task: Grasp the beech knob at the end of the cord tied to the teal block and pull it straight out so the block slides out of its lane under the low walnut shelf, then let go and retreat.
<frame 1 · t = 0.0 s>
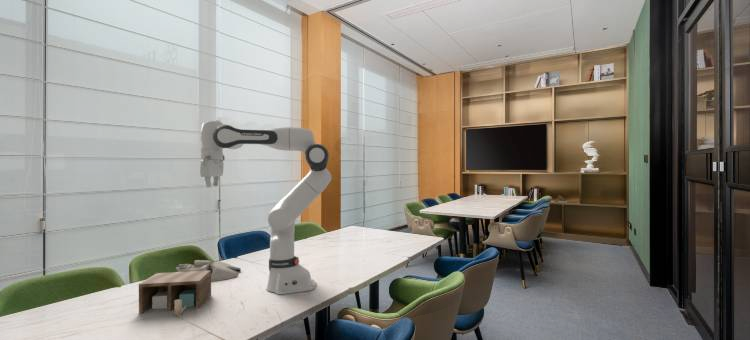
hand: (212, 186, 151), 48 cm above the table, fingers open, 8 cm apart
tethered block: (189, 303, 137), on the table
walnut shelf: (177, 303, 137), on the table
mask: (209, 277, 173), on the table
plain block: (163, 305, 136), resting in walnut shelf
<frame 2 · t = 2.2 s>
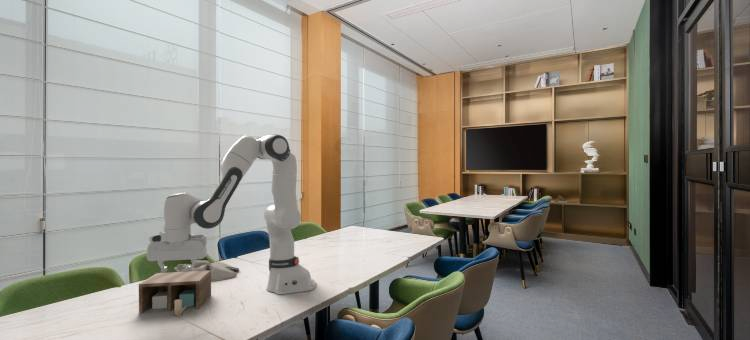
hand: (177, 271, 127), 17 cm above the table, fingers open, 8 cm apart
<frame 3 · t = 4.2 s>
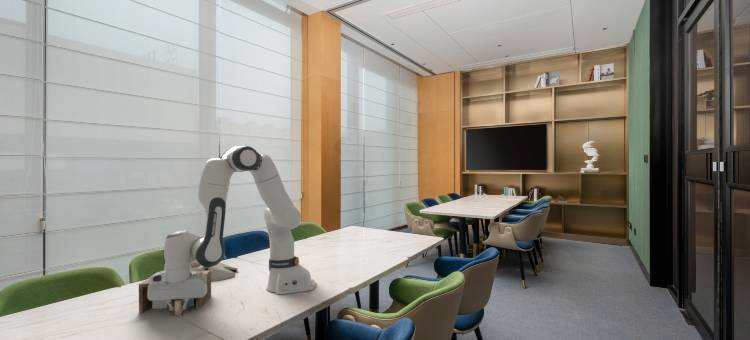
hand: (178, 309, 127), 2 cm above the table, fingers closed on tethered block, 2 cm apart
tethered block: (189, 303, 137), on the table, touching gripper
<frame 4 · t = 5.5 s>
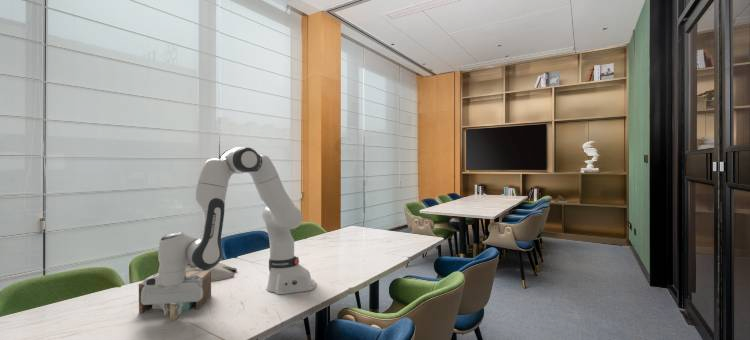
hand: (172, 314, 123), 2 cm above the table, fingers closed on tethered block, 2 cm apart
tethered block: (183, 307, 133), on the table, touching gripper
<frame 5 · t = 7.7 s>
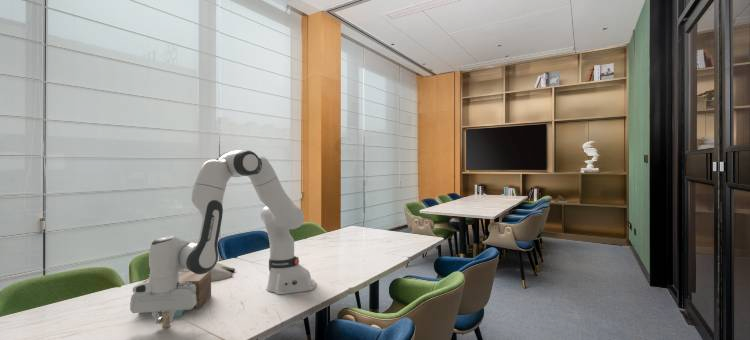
hand: (164, 322, 116), 2 cm above the table, fingers closed on tethered block, 2 cm apart
tethered block: (175, 314, 128), on the table, touching gripper
when the fingers open (2 cm above the table, at t = 8.2 s): tethered block stays where it is, on the table.
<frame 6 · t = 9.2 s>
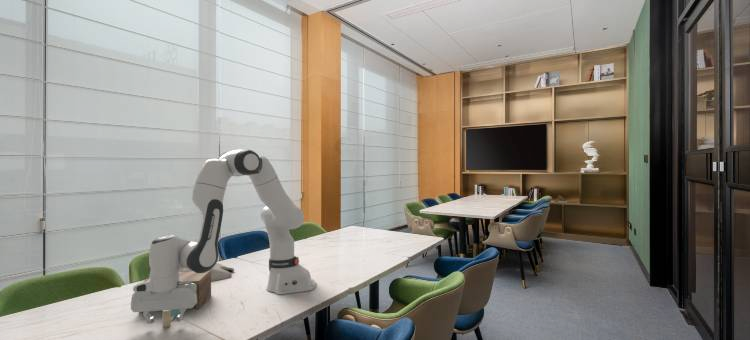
hand: (165, 321, 116), 2 cm above the table, fingers open, 8 cm apart
tethered block: (175, 314, 128), on the table
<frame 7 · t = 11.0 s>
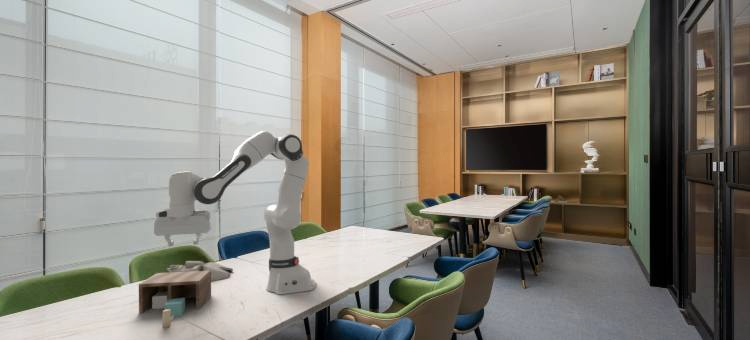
hand: (183, 245, 135), 25 cm above the table, fingers open, 8 cm apart
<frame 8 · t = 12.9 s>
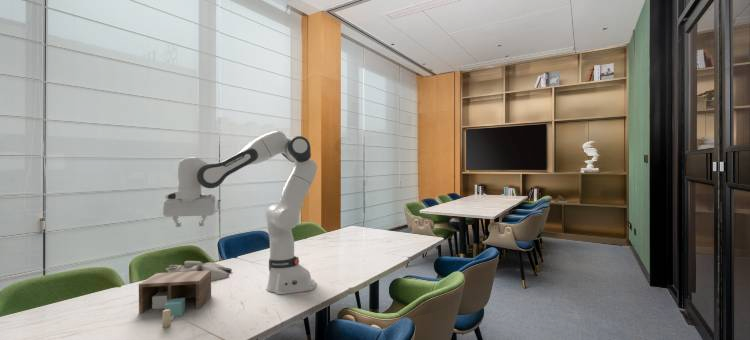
hand: (190, 226, 144), 31 cm above the table, fingers open, 8 cm apart
at the end: tethered block inside the target area (3.5 cm from its centre), on the table; the gripper is holding nothing; tethered block moved 9.7 cm from its start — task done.
